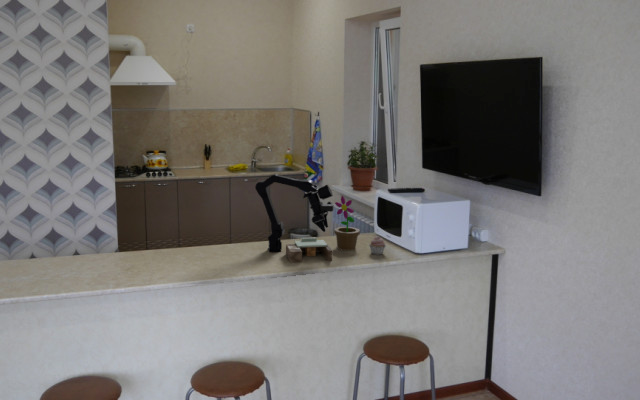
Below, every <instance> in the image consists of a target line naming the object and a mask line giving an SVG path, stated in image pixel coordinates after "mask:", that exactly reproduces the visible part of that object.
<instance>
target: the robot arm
mask: <svg viewBox="0 0 640 400" xmlns="http://www.w3.org/2000/svg"><path fill="white" fill-rule="evenodd" d="M274 183H276V184H277V183H278V184H280V185H284V186H285V185H286V186H290V187H293V188H297V189H298V190H300V191H303V192H304V194H303V196H302V198H303V199H305V198H307V200H308V203H309V205H310V206H309V207H310V210H311V211H312V213H313V214H312V215H313V216H312V217H311V222H312V223H313V224H314V225H315V226H317V227H318V228H319V229H320V230H321V231H322V232H323V233H325V232H326V228H329V224H328V214H329V212H330V213H331V212H334V206H335V205H334V203H332V202H331V201H328V202H326V203H323V202H322V201H321V200H325V199H326V200H327V199H328V198H331V197H333V196H334V195H333V191H332V189H331V187H330V186H329V184H328V183H327V184H325V185H323V186H318V185H316V184H315V183H314V180H311V179H297V178H292V177H289V176H285V175H281V174H278V173H273V174H272V175H270V177H268V178H266V179H261V180H259V181H258V182H257V183H256V184H255V186H254V187H255V190H256V192H257V194H258V195H259V197H260V198H261V199H262V201H263V202H262V203H263V205H264V208H265V211H266V213H267V216H268V219H269V222H270V231H271V233H270V234H269V235H268V237H267V240H268V247H267V250H268V252H269V253H275V252H277V253H279V252H282V250H283V249H282V243H283V242H282V240H281V237H283V235H284V234H285V231H286V230H285V229H286V227H285V225H284V222H283V221H280V220H279V218H278V215H277V213H276V209H275V207H274V204H273V202H272V199H271V195H270V186H272V185H273V184H274Z"/></svg>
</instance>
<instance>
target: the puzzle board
mask: <svg viewBox="0 0 640 400" xmlns="http://www.w3.org/2000/svg"><path fill="white" fill-rule="evenodd" d="M325 243H326V244H327V246H325V247H316V251H315V253H322V255H323V256H324V258H327V259H326V260H327V261H328V262H332V261H333V249H332V248H331V247H330V246H329V244H328V243H327V242H326V241H325ZM303 253H306V247H297V246H296V244H295V243H287V244H285V256H286V257H287V259H288V261H289V263H302V262H303V261H302V260H303Z"/></svg>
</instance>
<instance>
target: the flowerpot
mask: <svg viewBox="0 0 640 400" xmlns="http://www.w3.org/2000/svg"><path fill="white" fill-rule="evenodd" d="M340 201H341V202H339V201H335V203H334V204H335V206H336V207H338V208H339V209H338V210H337V212H336V215H341V214H342V213H343V217H344V219H345V220H346V221H345V220H343V221H341V222H340V224H342V225H344V226H338V227H336V228H334V231H333V233H334V235H335V236H336V245H337V246H336V247H337V249H339V250H341V249H342V250H343V251H353V250H356V246H357V243H358V242H357V241H358V238H359V237H358V236H359V235H360V234H361V230H360V229H359V228H356V227H351V226H349V223H355V219H354V218H353V217H352V216H349V213H350V214H351V213H354V210H353V208H351V207H350V205H352V203H353V201H352V199H350V200H348V201H346V198H345V197H344V195H342V196H341V197H340Z"/></svg>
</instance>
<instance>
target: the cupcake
mask: <svg viewBox="0 0 640 400" xmlns="http://www.w3.org/2000/svg"><path fill="white" fill-rule="evenodd" d="M368 246H369V248H370V252H371V255H375V256H380V255H383V254H384V251H385V248H386V247H387V244H386V242H385V240H384V238H382V237H380V236H379V235H376V236H375V237H374V239H372V240H371V241H370V243H369V245H368Z"/></svg>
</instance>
